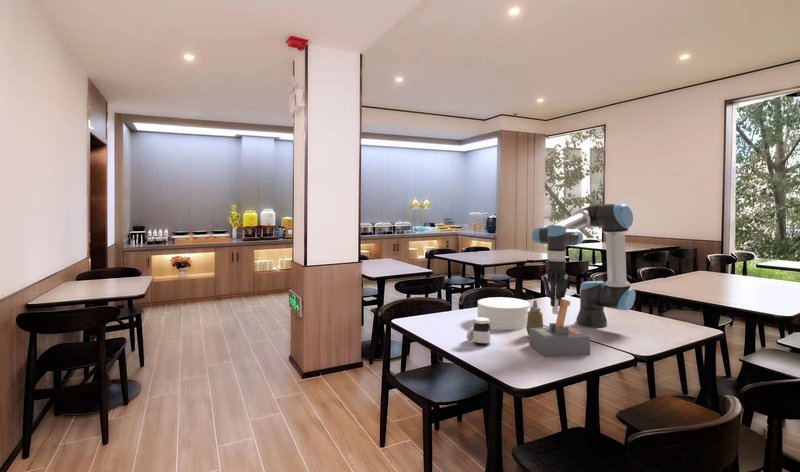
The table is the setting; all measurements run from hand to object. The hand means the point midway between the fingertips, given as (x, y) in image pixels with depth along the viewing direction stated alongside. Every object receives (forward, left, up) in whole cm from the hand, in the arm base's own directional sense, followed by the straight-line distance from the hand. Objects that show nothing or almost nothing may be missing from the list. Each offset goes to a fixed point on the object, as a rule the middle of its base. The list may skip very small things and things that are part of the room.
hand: (555, 313), depth 186 cm
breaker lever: (-2, 0, -8) cm, 8 cm away
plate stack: (+6, -47, -17) cm, 50 cm away
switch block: (-2, 0, -16) cm, 16 cm away
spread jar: (+30, -15, -17) cm, 38 cm away
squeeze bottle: (0, -20, -17) cm, 26 cm away
